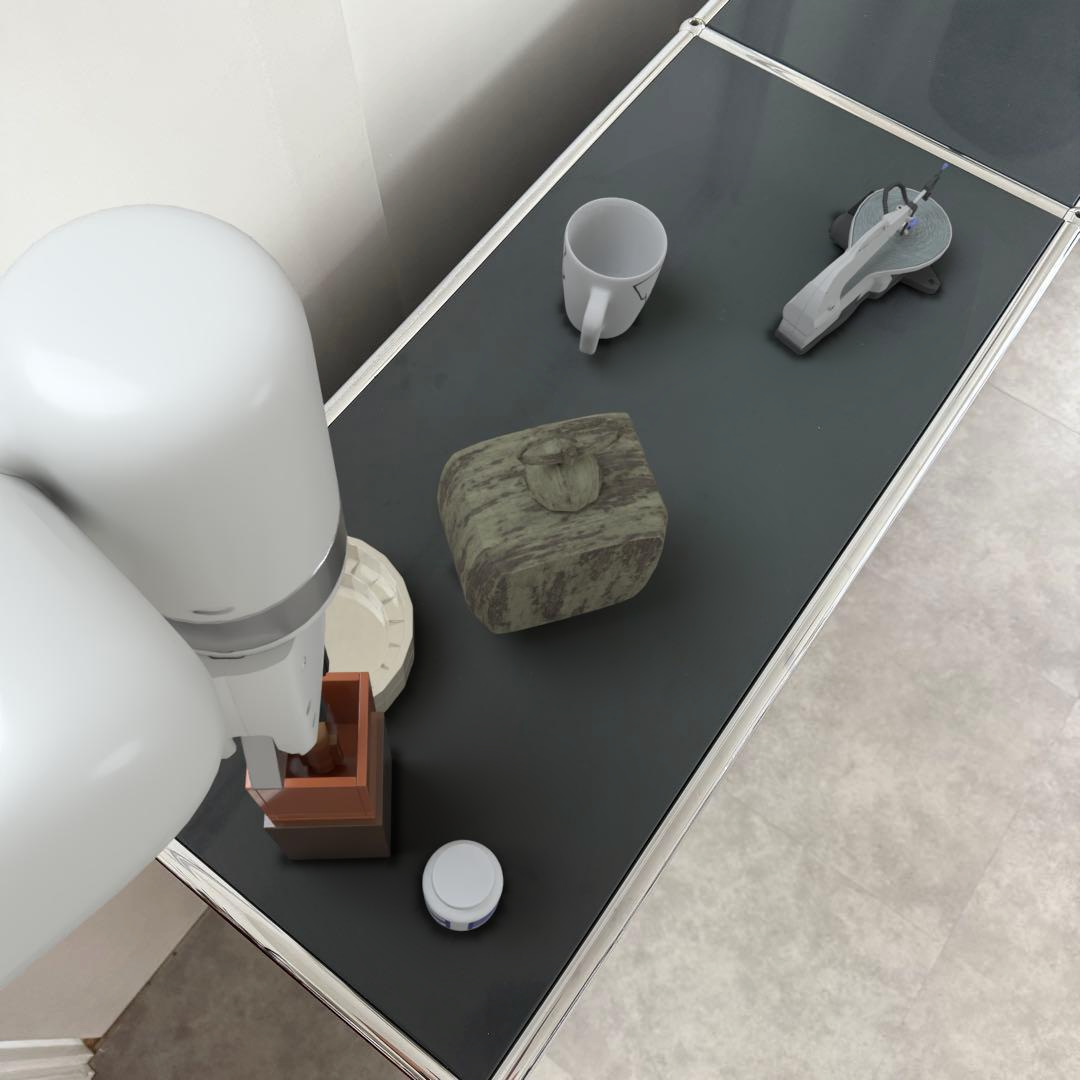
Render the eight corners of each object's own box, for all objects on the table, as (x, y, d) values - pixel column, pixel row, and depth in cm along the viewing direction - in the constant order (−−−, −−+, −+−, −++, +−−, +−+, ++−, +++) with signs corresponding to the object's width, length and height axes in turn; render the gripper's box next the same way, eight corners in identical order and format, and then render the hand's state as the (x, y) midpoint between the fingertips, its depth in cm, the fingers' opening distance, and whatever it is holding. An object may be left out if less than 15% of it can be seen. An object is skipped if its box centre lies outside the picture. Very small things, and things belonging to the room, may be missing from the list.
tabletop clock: (608, 514, 90) (665, 340, 68) (644, 614, 87) (718, 466, 64) (436, 557, 87) (436, 390, 65) (468, 662, 84) (479, 525, 61)
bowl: (217, 743, 80) (201, 721, 75) (231, 563, 86) (217, 531, 80) (413, 739, 81) (412, 718, 76) (414, 562, 87) (413, 530, 82)
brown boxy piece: (289, 860, 77) (236, 796, 57) (294, 760, 80) (245, 666, 59) (390, 857, 78) (373, 793, 57) (391, 758, 81) (376, 664, 60)
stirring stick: (343, 773, 65) (309, 672, 47) (302, 774, 65) (252, 674, 47) (343, 746, 66) (310, 637, 48) (303, 748, 66) (253, 639, 47)
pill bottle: (499, 853, 79) (506, 832, 70) (498, 931, 76) (505, 919, 68) (424, 852, 78) (423, 831, 70) (421, 931, 76) (419, 918, 68)
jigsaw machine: (877, 317, 88) (768, 230, 90) (833, 387, 97) (736, 307, 100) (1016, 188, 95) (911, 111, 97) (962, 266, 104) (868, 194, 107)
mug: (627, 389, 95) (647, 321, 86) (533, 363, 96) (543, 293, 87) (655, 286, 100) (677, 212, 91) (566, 262, 100) (579, 185, 91)
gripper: (134, 329, 39) (226, 542, 55) (76, 778, 32) (200, 865, 49) (351, 332, 39) (377, 542, 56) (336, 772, 33) (371, 860, 50)
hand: (294, 692), depth 52 cm, fingers closed on stirring stick
